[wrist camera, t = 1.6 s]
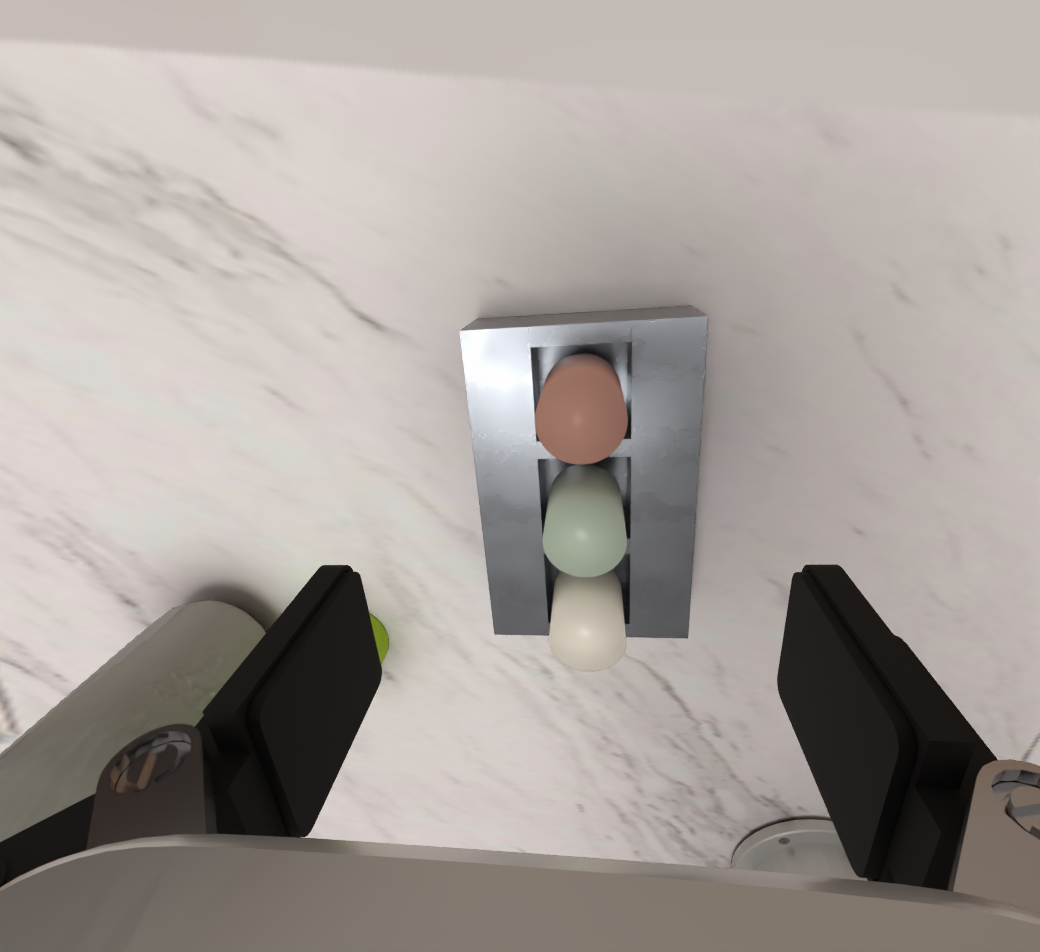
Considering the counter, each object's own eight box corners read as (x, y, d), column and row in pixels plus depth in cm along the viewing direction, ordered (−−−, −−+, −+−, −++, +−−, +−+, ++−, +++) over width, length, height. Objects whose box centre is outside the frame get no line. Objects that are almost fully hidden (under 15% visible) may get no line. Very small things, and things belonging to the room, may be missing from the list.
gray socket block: (691, 305, 29) (708, 316, 25) (676, 594, 37) (688, 638, 33) (476, 319, 31) (459, 331, 27) (504, 592, 38) (494, 634, 34)
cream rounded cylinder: (621, 557, 31) (626, 611, 27) (620, 613, 33) (626, 672, 28) (553, 557, 32) (546, 610, 27) (556, 612, 33) (551, 670, 29)
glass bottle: (154, 615, 43) (-465, 1148, 18) (233, 557, 40) (-392, 1112, 15) (243, 695, 46) (-188, 1261, 20) (324, 647, 43) (-71, 1252, 17)
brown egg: (621, 351, 27) (627, 373, 22) (621, 427, 28) (627, 463, 24) (541, 355, 27) (531, 378, 23) (545, 430, 29) (537, 465, 24)
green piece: (621, 462, 29) (627, 503, 24) (621, 527, 31) (626, 577, 26) (547, 464, 30) (540, 505, 25) (551, 528, 31) (544, 577, 27)
